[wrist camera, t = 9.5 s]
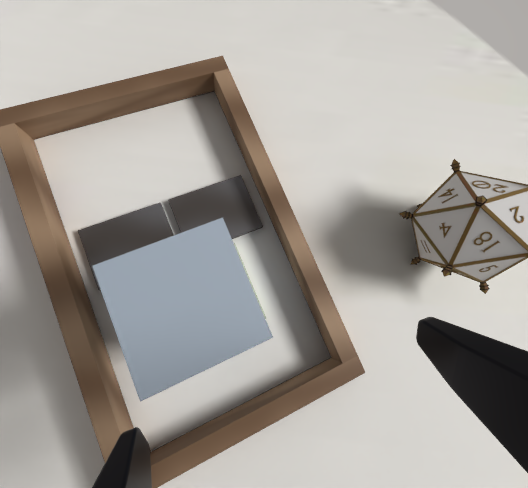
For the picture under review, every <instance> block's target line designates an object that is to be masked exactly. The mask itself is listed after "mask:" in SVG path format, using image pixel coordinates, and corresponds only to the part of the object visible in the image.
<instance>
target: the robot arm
mask: <svg viewBox="0 0 528 488" xmlns="http://www.w3.org/2000/svg"><path fill="white" fill-rule="evenodd" d="M416 339H417V343H418V345H419V346H420V347H421V349H422V350H423V351H424V353H425V354H426V355H427V357H428V358H429V359H430V361H431V362H432V363H433V365H434V366H435V367H436V369H437V370H438V371H439V373H440V374H441V375H442V377H443V378H444V379H445V381H446V382H447V383H448V384H449V386H450V387H451V388H452V389H453V390H454V392H455V393H456V394H457V395H458V396H459V397H460V398H461V399H462V401H463V402H464V403H465V404H466V405H467V406H468V407H469V408H470V409H471V411H472V412H473V413H474V414H475V415H476V416H477V417H478V418H479V419H480V421H481V422H482V423H483V424H484V425H485V426H486V427H487V428H488V429H489V431H490V432H491V433H492V434H493V435H494V436H495V437H496V438H497V439H498V441H499V442H500V443H501V444H502V445H503V446H504V447H505V448H506V449H507V451H508V452H509V453H510V454H511V455H512V456H513V457H514V458H515V459H516V461H517V462H518V463H519V464H520V465H521V466H522V467H523V468H524V469H525V471H526V472H527V473H528V351H525V350H522V349H520V348H517V347H514V346H511V345H508V344H506V343H503V342H500V341H497V340H495V339H492V338H489V337H486V336H484V335H481V334H478V333H475V332H472V331H470V330H467V329H464V328H461V327H459V326H456V325H453V324H450V323H448V322H445V321H442V320H439V319H436V318H433V317H427V318H425V319H422V320H420V321H419V322H418V328H417V336H416ZM92 488H152V478H151V458H150V448H149V444H148V442H147V440H146V439H145V437H144V435H143V434H142V432H141V430H140V429H139V428H137V427H136V428H133V429H130V430H127V431H125V432H123V433H122V434H121V435H120V436H119V438H118V440H117V442H116V444H115V446H114V448H113V449H112V451H111V453H110V455H109V457H108V459H107V461H106V463H105V465H104V466H103V468H102V470H101V472H100V474H99V476H98V478H97V480H96V481H95V483H94V485H93V487H92Z"/></svg>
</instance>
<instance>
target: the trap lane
mask: <svg viewBox="0 0 528 488" xmlns="http://www.w3.org/2000/svg"><path fill="white" fill-rule="evenodd" d="M212 91H215V93H216V96H217V98H218V100H219V103H220V105H221V107H222V109H223V112H224V114H225V116H226V118H227V121H228V123H229V125H230V128H231V130H232V132H233V134H234V137H235V139H236V141H237V144H238V146H239V148H240V150H241V153H242V155H243V157H244V159H245V162H246V164H247V166H248V169H249V171H250V173H251V175H252V178H253V180H254V182H255V185H256V187H257V189H258V191H259V194H260V196H261V198H262V200H263V203H264V205H265V207H266V210H267V212H268V214H269V216H270V219H271V221H272V223H273V226H274V228H275V230H276V232H277V235H278V237H279V239H280V241H281V244H282V246H283V248H284V251H285V253H286V255H287V257H288V260H289V262H290V264H291V266H292V269H293V271H294V273H295V276H296V278H297V280H298V282H299V285H300V287H301V289H302V292H303V294H304V296H305V298H306V301H307V303H308V305H309V307H310V310H311V312H312V314H313V317H314V319H315V321H316V323H317V326H318V328H319V330H320V333H321V335H322V337H323V339H324V342H325V344H326V346H327V348H328V351H329V353H330V355H331V358H330V359H328V360H326V361H324V362H322V363H320V364H318V365H316V366H314V367H312V368H310V369H309V370H307V371H305V372H303V373H301V374H299V375H297V376H295V377H293V378H291V379H289V380H288V381H286V382H284V383H282V384H280V385H278V386H276V387H274V388H272V389H270V390H268V391H267V392H265V393H263V394H261V395H259V396H257V397H255V398H253V399H251V400H249V401H247V402H246V403H244V404H242V405H240V406H238V407H236V408H234V409H232V410H230V411H228V412H226V413H225V414H223V415H221V416H219V417H217V418H215V419H213V420H211V421H209V422H207V423H205V424H204V425H202V426H200V427H198V428H196V429H194V430H192V431H190V432H188V433H186V434H184V435H183V436H181V437H179V438H177V439H175V440H173V441H171V442H169V443H167V444H165V445H163V446H162V447H160V448H158V449H156V450H154V451H152V452H150V458H151V478H152V488H157V487H159V486H161V485H163V484H164V483H166V482H168V481H170V480H172V479H174V478H175V477H177V476H179V475H181V474H183V473H184V472H186V471H188V470H190V469H192V468H193V467H195V466H197V465H199V464H201V463H202V462H204V461H206V460H208V459H210V458H212V457H213V456H215V455H217V454H219V453H221V452H222V451H224V450H226V449H228V448H230V447H231V446H233V445H235V444H237V443H239V442H240V441H242V440H244V439H246V438H248V437H250V436H251V435H253V434H255V433H257V432H259V431H260V430H262V429H264V428H266V427H268V426H269V425H271V424H273V423H275V422H277V421H279V420H280V419H282V418H284V417H286V416H288V415H289V414H291V413H293V412H295V411H297V410H298V409H300V408H302V407H304V406H306V405H307V404H309V403H311V402H313V401H315V400H317V399H318V398H320V397H322V396H324V395H326V394H327V393H329V392H331V391H333V390H335V389H336V388H338V387H340V386H342V385H344V384H345V383H347V382H349V381H351V380H353V379H355V378H356V377H358V376H360V375H362V374H364V373H365V371H364V368H363V366H362V364H361V362H360V360H359V357H358V355H357V353H356V351H355V348H354V346H353V344H352V342H351V340H350V337H349V335H348V333H347V331H346V328H345V326H344V324H343V322H342V320H341V317H340V315H339V313H338V311H337V308H336V306H335V304H334V302H333V300H332V297H331V295H330V293H329V291H328V288H327V286H326V284H325V282H324V280H323V277H322V275H321V273H320V271H319V269H318V266H317V264H316V262H315V260H314V257H313V255H312V253H311V251H310V249H309V246H308V244H307V242H306V240H305V237H304V235H303V233H302V231H301V229H300V226H299V224H298V222H297V220H296V217H295V215H294V213H293V211H292V209H291V206H290V204H289V202H288V200H287V197H286V195H285V193H284V191H283V189H282V186H281V184H280V182H279V180H278V177H277V175H276V173H275V171H274V169H273V166H272V164H271V162H270V160H269V157H268V155H267V153H266V151H265V149H264V146H263V144H262V142H261V140H260V138H259V135H258V133H257V131H256V129H255V126H254V124H253V122H252V120H251V118H250V115H249V113H248V111H247V109H246V106H245V104H244V102H243V100H242V98H241V95H240V93H239V91H238V89H237V86H236V84H235V82H234V80H233V78H232V75H231V73H230V71H229V69H228V66H227V64H226V62H225V60H224V58H223V56H219V57H215V58H211V59H207V60H203V61H199V62H195V63H191V64H186V65H182V66H178V67H174V68H170V69H166V70H162V71H158V72H153V73H149V74H145V75H141V76H137V77H133V78H129V79H125V80H120V81H116V82H112V83H108V84H104V85H100V86H96V87H92V88H87V89H83V90H79V91H75V92H71V93H67V94H63V95H59V96H55V97H50V98H46V99H42V100H38V101H34V102H30V103H26V104H22V105H17V106H13V107H9V108H5V109H1V110H0V147H1V150H2V153H3V156H4V159H5V162H6V165H7V168H8V171H9V174H10V177H11V180H12V183H13V186H14V189H15V192H16V195H17V198H18V201H19V205H20V208H21V211H22V214H23V217H24V220H25V223H26V226H27V229H28V232H29V235H30V238H31V241H32V244H33V247H34V250H35V253H36V256H37V259H38V262H39V265H40V268H41V271H42V274H43V277H44V280H45V283H46V286H47V289H48V292H49V295H50V298H51V301H52V304H53V307H54V310H55V313H56V316H57V319H58V322H59V325H60V328H61V331H62V334H63V337H64V340H65V343H66V347H67V350H68V353H69V356H70V359H71V362H72V365H73V368H74V371H75V374H76V377H77V380H78V383H79V386H80V389H81V392H82V395H83V398H84V401H85V404H86V407H87V410H88V413H89V416H90V419H91V422H92V425H93V428H94V431H95V434H96V437H97V440H98V443H99V446H100V449H101V452H102V455H103V458H104V461H105V463H106V461H107V459H108V457H109V455H110V453H111V451H112V449H113V448H114V446H115V444H116V442H117V440H118V438H119V436H120V435H121V434H122V433H123V432H125V431H127V430H130V429H133V428H134V427H133V425H132V422H131V419H130V416H129V413H128V410H127V407H126V404H125V401H124V399H123V396H122V393H121V390H120V387H119V384H118V381H117V378H116V376H115V373H114V370H113V367H112V364H111V361H110V358H109V355H108V353H107V350H106V347H105V344H104V341H103V338H102V335H101V332H100V329H99V327H98V324H97V321H96V318H95V315H94V312H93V309H92V306H91V304H90V301H89V298H88V295H87V292H86V289H85V286H84V283H83V281H82V278H81V275H80V272H79V269H78V266H77V263H76V260H75V257H74V255H73V252H72V249H71V246H70V243H69V240H68V237H67V234H66V232H65V229H64V226H63V223H62V220H61V217H60V214H59V211H58V209H57V206H56V203H55V200H54V197H53V194H52V191H51V188H50V185H49V183H48V180H47V177H46V174H45V171H44V168H43V165H42V162H41V160H40V157H39V154H38V151H37V148H36V145H35V142H34V139H37V138H41V137H45V136H48V135H52V134H56V133H59V132H63V131H67V130H71V129H74V128H78V127H82V126H86V125H89V124H93V123H97V122H100V121H104V120H108V119H112V118H115V117H119V116H123V115H127V114H130V113H134V112H138V111H141V110H145V109H149V108H153V107H156V106H160V105H164V104H168V103H171V102H175V101H179V100H182V99H186V98H190V97H194V96H197V95H201V94H205V93H209V92H212ZM168 201H169V203H170V206H171V208H172V211H173V213H174V216H175V218H176V221H177V223H178V226H179V228H180V231H181V233H182V232H185V231H187V230H190V229H193V228H196V227H198V226H201V225H204V224H206V223H209V222H212V221H214V220H217V219H220V218H223V219H224V222H225V224H226V227H227V229H228V231H229V234H230V236H231V238H232V239H234V238H236V237H239V236H241V235H244V234H246V233H249V232H252V231H254V230H257V229H259V228H262V227H263V225H262V223H261V221H260V218H259V216H258V214H257V211H256V209H255V207H254V205H253V202H252V200H251V198H250V195H249V193H248V191H247V188H246V186H245V184H244V182H243V179H242V177H241V175H240V176H237V177H234V178H231V179H228V180H225V181H222V182H219V183H216V184H213V185H210V186H208V187H205V188H202V189H199V190H196V191H193V192H190V193H187V194H184V195H181V196H178V197H175V198H172V199H169V200H168ZM78 232H79V235H80V238H81V241H82V244H83V247H84V249H85V252H86V255H87V258H88V261H89V264H90V266H91V269H92V272H93V275H94V278H95V281H96V283H97V286H98V289H99V290H101V289H100V286H99V284H98V281H97V278H96V275H95V272H94V270H93V267H92V266H93V265H96V264H98V263H101V262H104V261H106V260H109V259H112V258H115V257H117V256H120V255H123V254H125V253H128V252H131V251H133V250H136V249H139V248H142V247H144V246H147V245H150V244H152V243H155V242H158V241H160V240H163V239H166V238H169V237H171V236H174V235H173V233H172V230H171V228H170V225H169V222H168V220H167V217H166V215H165V212H164V210H163V207H162V205H161V203H158V204H155V205H152V206H149V207H146V208H143V209H140V210H137V211H134V212H131V213H128V214H125V215H122V216H120V217H117V218H114V219H111V220H108V221H105V222H102V223H99V224H96V225H93V226H90V227H87V228H84V229H81V230H78Z"/></svg>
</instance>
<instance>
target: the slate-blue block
mask: <svg viewBox="0 0 528 488" xmlns="http://www.w3.org/2000/svg"><path fill="white" fill-rule="evenodd" d="M92 267H93V270H94V272H95V275H96V278H97V281H98V284H99V286H100V289H101V292H102V295H103V298H104V301H105V303H106V306H107V309H108V312H109V315H110V317H111V320H112V323H113V326H114V329H115V332H116V334H117V337H118V340H119V343H120V346H121V348H122V351H123V354H124V357H125V360H126V363H127V365H128V368H129V371H130V374H131V377H132V379H133V382H134V385H135V388H136V391H137V394H138V396H139V399H140V401H142V400H144V399H147V398H149V397H151V396H153V395H155V394H157V393H159V392H161V391H163V390H165V389H167V388H169V387H171V386H173V385H175V384H178V383H180V382H182V381H184V380H186V379H188V378H190V377H192V376H194V375H196V374H198V373H200V372H202V371H204V370H206V369H209V368H211V367H213V366H215V365H217V364H219V363H221V362H223V361H225V360H227V359H229V358H231V357H233V356H235V355H238V354H240V353H242V352H244V351H246V350H248V349H250V348H252V347H254V346H256V345H258V344H260V343H262V342H264V341H266V340H269V339H271V338H273V336H272V334H271V331H270V329H269V327H268V324H267V322H266V320H265V317H264V315H263V312H262V310H261V308H260V305H259V303H258V300H257V298H256V296H255V293H254V291H253V289H252V286H251V284H250V281H249V279H248V277H247V274H246V272H245V269H244V267H243V265H242V262H241V260H240V258H239V255H238V253H237V250H236V248H235V246H234V243H233V241H232V238H231V236H230V234H229V231H228V229H227V227H226V224H225V222H224V219H223V218H220V219H217V220H214V221H212V222H209V223H206V224H204V225H201V226H198V227H196V228H193V229H190V230H187V231H185V232H182V233H179V234H177V235H174V236H171V237H169V238H166V239H163V240H160V241H158V242H155V243H152V244H150V245H147V246H144V247H142V248H139V249H136V250H133V251H131V252H128V253H125V254H123V255H120V256H117V257H115V258H112V259H109V260H106V261H104V262H101V263H98V264H96V265H93V266H92Z"/></svg>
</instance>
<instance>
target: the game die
mask: <svg viewBox="0 0 528 488" xmlns="http://www.w3.org/2000/svg"><path fill="white" fill-rule="evenodd" d="M459 164H460V163H458V162H457V161H456V160H455V159H454V160H453V162H452V165H450V166H452V169H453V171H454V173H453V174H452V175H451V176H450V177H449V178H448V179H447V180H446V181H445V182H444V183H443V184H442V185H441V186H440V187H439V188H438V189H437V190H436V191H435V192H434V193H433V194H432V195H431V196H430V197H429V198H428V199H427V200H426V201H425V202H424V203H423V204H419V205H417V207H418V208H417V210H416V211H415V212H414V213H413V214H411V213H410V212H407V211H404V212H402V213H399V214H400V215H401V216H402V217H403V219H404V218H406V219H408V218H411V220H412V225H413V230H414V235H415V240H416V245H417V250H418V255H419V256H418V257H415V258H414V259H412V262H411V264H417V263H419V262H420V260H423V261H425V262H428V263H431V264H433V265H436V266H438V267H441V268H443V270H442V272H443V274H444V276H447V275H451V272H454V273H457V274H459V275H462V276H465V277H467V278H470V279H472V280H475V281H478V282H480V286H479V287H480V290H482V291H483V292H484V293H485V294H486V292H487V291H488V289H489V288H488V286H489V285H487V284H486V281H488V280H490V279H491V278H493V277H495V276H497V275H498V274H500V273H502V272H504V271H506V270H507V269H509V268H511V267H513V266H514V265H516V264H518V263H520V262H521V261H523V260H525V259H527V258H528V185H527V184H522V183H517V182H512V181H507V180H502V179H497V178H492V177H487V176H482V175H477V174H472V173H468V172H463V171H460V170H459V169H460V166H459Z"/></svg>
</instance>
